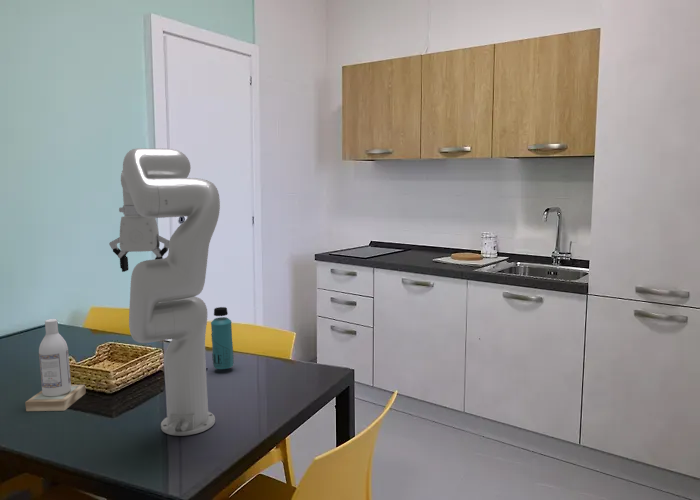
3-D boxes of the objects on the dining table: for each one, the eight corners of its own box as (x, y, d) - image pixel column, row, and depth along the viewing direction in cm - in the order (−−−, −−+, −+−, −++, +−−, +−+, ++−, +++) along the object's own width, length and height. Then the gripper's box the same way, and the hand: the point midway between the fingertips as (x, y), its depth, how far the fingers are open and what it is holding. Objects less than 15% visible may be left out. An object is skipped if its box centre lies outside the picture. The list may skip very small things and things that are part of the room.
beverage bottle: (236, 367, 178) (234, 305, 176) (230, 374, 172) (227, 310, 169) (216, 366, 179) (214, 305, 176) (209, 374, 172) (206, 310, 170)
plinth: (64, 410, 146) (63, 400, 146) (26, 411, 146) (25, 401, 146) (85, 393, 158) (85, 384, 158) (50, 393, 158) (49, 384, 158)
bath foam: (59, 386, 156) (53, 316, 154) (77, 389, 154) (71, 318, 151) (36, 395, 150) (30, 322, 148) (54, 398, 147) (48, 324, 145)
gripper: (102, 212, 156) (106, 273, 158) (164, 211, 156) (168, 272, 158) (113, 211, 163) (117, 269, 166) (172, 210, 164) (176, 268, 166)
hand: (142, 270), depth 162 cm, fingers open, 9 cm apart
